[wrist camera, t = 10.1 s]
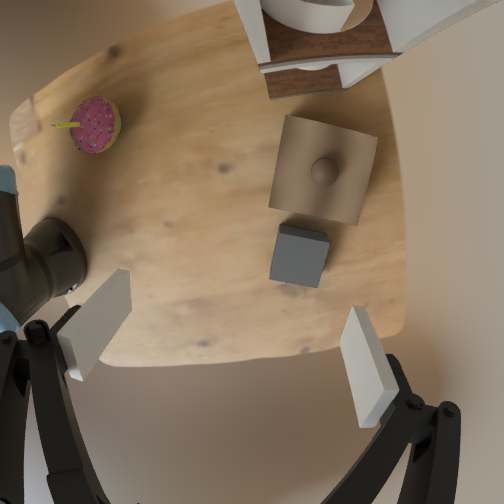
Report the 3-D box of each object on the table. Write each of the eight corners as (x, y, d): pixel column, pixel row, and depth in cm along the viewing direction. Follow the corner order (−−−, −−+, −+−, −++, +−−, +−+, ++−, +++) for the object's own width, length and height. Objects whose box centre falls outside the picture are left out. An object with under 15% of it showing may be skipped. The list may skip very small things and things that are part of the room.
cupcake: (85, 147, 41) (37, 156, 30) (94, 97, 38) (45, 93, 27) (128, 154, 41) (82, 163, 30) (138, 100, 38) (93, 93, 27)
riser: (270, 267, 46) (269, 279, 42) (279, 224, 43) (279, 232, 39) (314, 275, 46) (317, 288, 42) (326, 233, 43) (330, 243, 39)
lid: (269, 202, 37) (267, 210, 34) (285, 116, 33) (285, 113, 29) (353, 220, 37) (360, 229, 33) (372, 137, 32) (382, 137, 29)
